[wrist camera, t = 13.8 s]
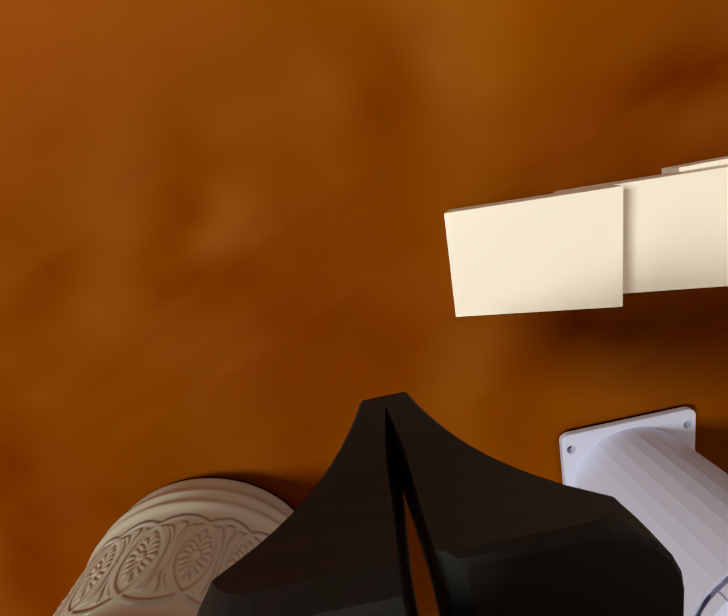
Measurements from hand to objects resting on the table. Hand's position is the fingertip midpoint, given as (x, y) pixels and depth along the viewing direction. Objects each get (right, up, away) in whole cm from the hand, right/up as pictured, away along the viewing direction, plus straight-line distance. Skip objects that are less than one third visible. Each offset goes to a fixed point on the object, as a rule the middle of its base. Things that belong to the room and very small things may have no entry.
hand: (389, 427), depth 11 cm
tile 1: (+4, +6, +8) cm, 11 cm away
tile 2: (+9, +7, +8) cm, 14 cm away
